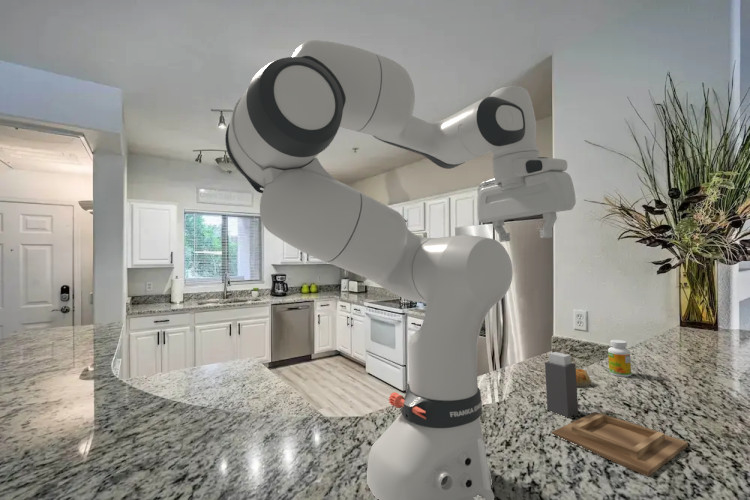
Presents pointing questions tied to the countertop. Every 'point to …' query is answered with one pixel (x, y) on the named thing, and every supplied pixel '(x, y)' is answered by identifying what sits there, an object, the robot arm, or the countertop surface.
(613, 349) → the supplement bottle
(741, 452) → the countertop surface
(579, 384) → the pastry
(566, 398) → the capped dark pillar
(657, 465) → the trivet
